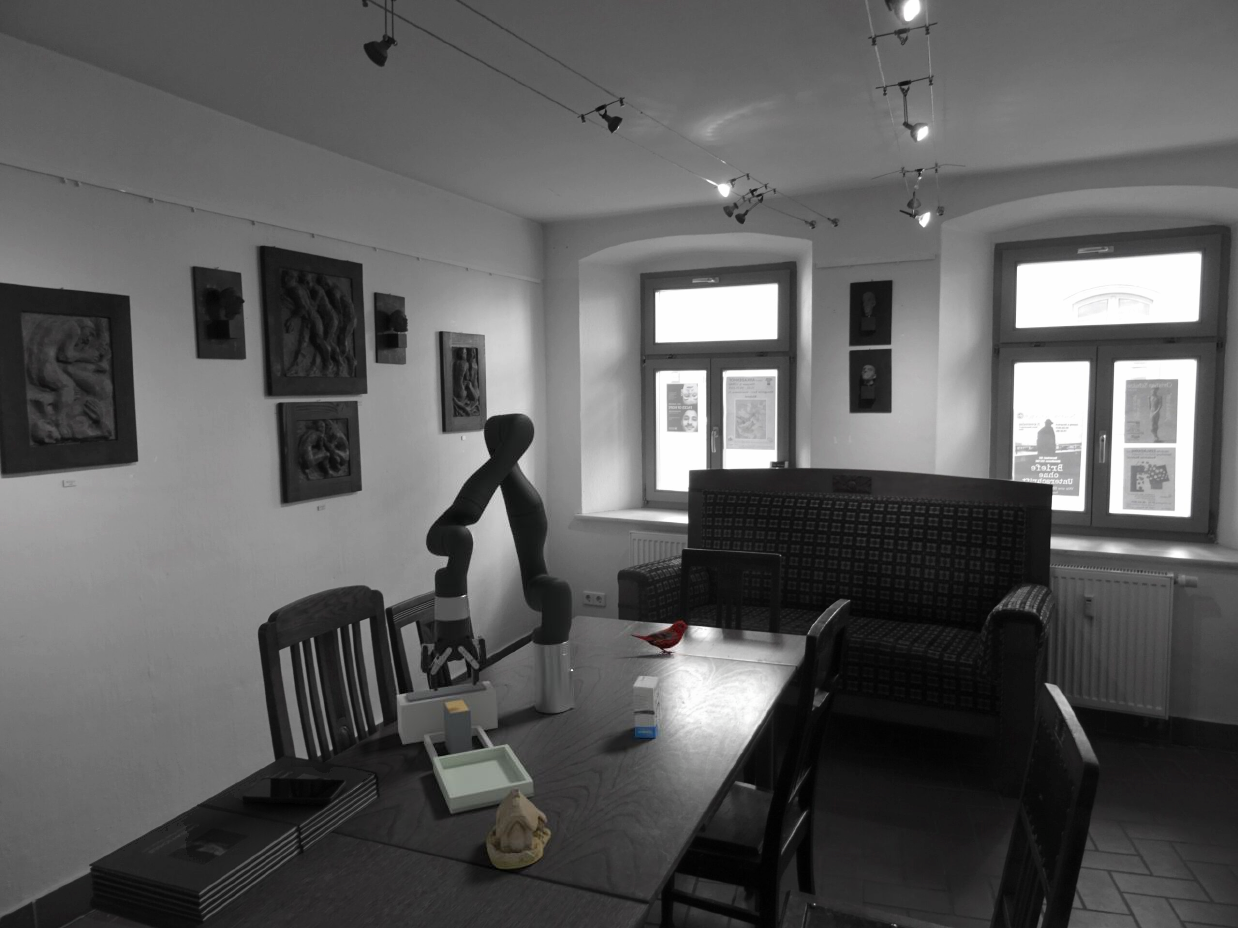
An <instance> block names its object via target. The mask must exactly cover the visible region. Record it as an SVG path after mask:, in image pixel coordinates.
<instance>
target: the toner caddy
mask: <svg viewBox="0 0 1238 928" xmlns="http://www.w3.org/2000/svg"><path fill="white" fill-rule="evenodd" d="M443 706H444V727H445V741H444V742H445V743H444V744H445V748H446V750H447V752H448V755H452V754H457V753H463V752H468V751H473V740H472V739H473V736H472V733H471V712H470V709H469V707H468V706H467V704H466V703H465V701H464V700H463V699H461V700H455V701H449V702H443Z"/></svg>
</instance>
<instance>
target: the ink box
mask: <svg viewBox="0 0 1238 928" xmlns="http://www.w3.org/2000/svg"><path fill="white" fill-rule="evenodd" d="M659 678H660V677H659V676H650V675H649V676H647V675H646V676H645V675H640V676H638V677H637V679H636V681H635V682H634V684H633V685H632V701H633V720H634V738H639V739H640V738H641V739H643V738H645V739H656V737H657V735H658V733H659V729H660V727H661V709H660V708H661V707H660V684H659V683H660V682H659V681H660V679H659Z"/></svg>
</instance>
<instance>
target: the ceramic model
mask: <svg viewBox="0 0 1238 928" xmlns="http://www.w3.org/2000/svg"><path fill="white" fill-rule="evenodd" d="M546 816H547V815H546V814H545V813H544V812H542V810H540V809H538V808H537V807H536V806H535V805H534V803H533V802H531V801H530V800H529V799H528V798H526V797H525V796H524V795H523V794H521V793H520V790H519V789H517V788H512V789H511V791H510V793H509V794H508V795H507V796H506V797H505V798H504V800H503V801H502V802H501V803H500V804H499V805H498V807H497V809H496V813H495V819H496V820H495V821H496V823H495V824H496V825H494V826H493V828H492V830H491V831H489V834H488V836H487V838H486V840H485V842H486V851H487V854H488V856H489V860H490V862H491V864H492V865H493V866H495V867H496V868H498V869H499V870H500V869H503V870H510V869H511V870H512V869H520V868H523V867H524V868H525V867H526V866H529V865H532V864H534V863H536V862H537V861H538V860H540V859H541V858H542V857H543V855H544V848H545V847H546V845H547V842H548V841H549V840H550V839H551V835H552V833H551V832H552V831H550V829H548V828H546V827H545V824H547V822H548V819H547V817H546Z"/></svg>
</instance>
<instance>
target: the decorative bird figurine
mask: <svg viewBox="0 0 1238 928" xmlns="http://www.w3.org/2000/svg"><path fill="white" fill-rule="evenodd" d="M686 629H689V626H688V625H686V623H685V622H684V621H683V620H678V621H676V622H674V623H673V624H672V625H670V627H667V628H665V629H660V630H658V631H656V632H653V633H651V634H648V635H640V634H639V635H638V634H630V636H632V637H634V638H636V639H641V640H644V641H645V642H647V644H649V645H650V646H652V647H656V648H658V649H660V650H661V651H659V652H658V654H660V653H661V654H668V655H669V654H674V653H675V651H671V650H667V649H672V648H673V647H675V646H677V645H678V644H679V643H680V642H681V640H682V639H683V636H684V634H685V632H686Z"/></svg>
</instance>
